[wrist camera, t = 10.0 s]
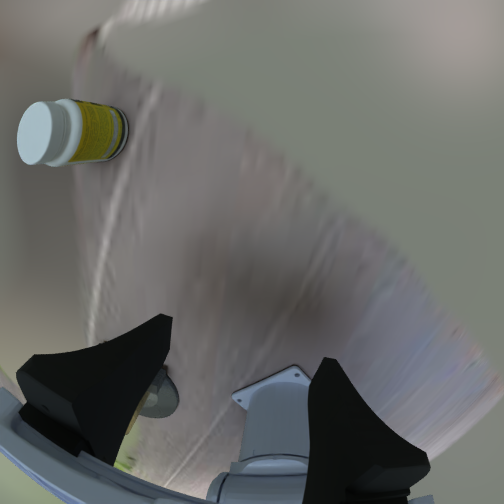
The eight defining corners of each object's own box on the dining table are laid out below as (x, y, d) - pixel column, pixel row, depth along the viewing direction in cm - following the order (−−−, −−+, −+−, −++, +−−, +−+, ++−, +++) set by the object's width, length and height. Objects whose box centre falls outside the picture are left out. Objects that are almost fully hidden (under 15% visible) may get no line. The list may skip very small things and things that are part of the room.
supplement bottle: (126, 98, 18) (54, 81, 10) (133, 152, 19) (60, 156, 12) (83, 118, 19) (12, 115, 11) (90, 167, 20) (17, 180, 12)
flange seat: (92, 334, 26) (77, 350, 23) (181, 369, 26) (171, 391, 23) (102, 393, 30) (91, 408, 27) (176, 423, 30) (168, 442, 26)
